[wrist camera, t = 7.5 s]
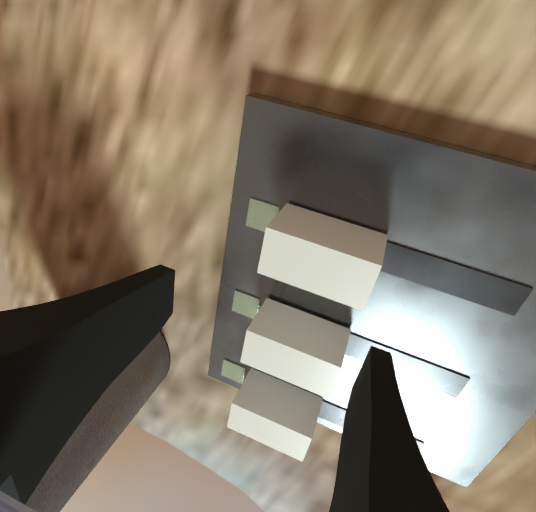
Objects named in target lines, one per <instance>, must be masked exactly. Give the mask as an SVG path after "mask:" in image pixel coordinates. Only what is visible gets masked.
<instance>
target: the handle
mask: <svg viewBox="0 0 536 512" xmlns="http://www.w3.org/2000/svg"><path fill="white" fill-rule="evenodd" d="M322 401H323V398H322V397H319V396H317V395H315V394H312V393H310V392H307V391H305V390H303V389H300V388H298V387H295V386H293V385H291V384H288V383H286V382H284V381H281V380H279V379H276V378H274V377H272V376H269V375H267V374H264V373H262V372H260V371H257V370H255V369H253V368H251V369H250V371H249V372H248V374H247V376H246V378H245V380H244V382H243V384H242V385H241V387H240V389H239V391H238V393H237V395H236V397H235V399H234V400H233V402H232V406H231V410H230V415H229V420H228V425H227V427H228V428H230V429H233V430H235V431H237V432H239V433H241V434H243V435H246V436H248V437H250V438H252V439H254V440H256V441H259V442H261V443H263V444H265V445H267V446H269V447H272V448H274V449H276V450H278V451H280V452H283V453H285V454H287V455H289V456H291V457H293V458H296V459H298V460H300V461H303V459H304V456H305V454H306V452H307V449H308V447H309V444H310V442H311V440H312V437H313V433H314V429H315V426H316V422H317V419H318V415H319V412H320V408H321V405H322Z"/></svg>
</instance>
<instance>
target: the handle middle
mask: <svg viewBox="0 0 536 512" xmlns="http://www.w3.org/2000/svg"><path fill="white" fill-rule="evenodd" d="M350 332H351V329H349V328H346V327H343V326H341V325H338V324H335V323H333V322H330V321H327V320H325V319H322V318H319V317H317V316H314V315H311V314H309V313H306V312H303V311H301V310H298V309H295V308H293V307H290V306H287V305H285V304H282V303H279V302H277V301H274V300H271V299H269V298H266V300H265V301H264V303H263V304H262V306H261V308H260V309H259V311H258V312H257V314H256V316H255V317H254V319H253V320H252V322H251V324H250V325H249V327H248V329H247V330H246V335H245V340H244V345H243V350H242V355H241V360H240V362H241V363H243V364H246V365H248V366H251V367H253V368H255V369H258V370H260V371H263V372H265V373H267V374H270V375H272V376H275V377H277V378H279V379H282V380H284V381H286V382H289V383H291V384H294V385H296V386H298V387H301V388H303V389H306V390H308V391H310V392H313V393H315V394H318V395H320V396H322V397H325V398H327V399H329V396H330V394H331V391H332V389H333V386H334V384H335V382H336V379H337V377H338V374H339V372H340V370H341V367H342V363H343V359H344V355H345V351H346V347H347V343H348V339H349V336H350Z"/></svg>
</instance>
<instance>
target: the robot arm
mask: <svg viewBox="0 0 536 512" xmlns="http://www.w3.org/2000/svg"><path fill="white" fill-rule="evenodd" d="M174 280H175V270H173V269H171V268H168V267H165V266H163V265H158V266H155V267H152V268H149V269H147V270H144V271H141V272H139V273H136V274H134V275H131V276H128V277H126V278H123V279H120V280H118V281H115V282H112V283H110V284H107V285H104V286H101V287H98V288H95V289H92V290H89V291H86V292H83V293H80V294H77V295H73V296H70V297H66V298H63V299H59V300H55V301H51V302H47V303H43V304H38V305H33V306H28V307H22V308H17V309H12V310H7V311H0V512H36V511H35V510H33V509H31V508H29V507H28V506H26V505H25V504H26V503H27V501H28V500H29V498H30V496H31V495H32V493H33V492H34V490H35V489H36V487H37V486H38V484H39V483H40V481H41V479H42V478H43V476H44V475H45V473H46V472H47V470H48V469H49V467H50V466H51V464H52V463H53V461H54V460H55V458H56V457H57V456H58V454H59V453H60V451H61V450H62V448H63V447H64V445H65V444H66V443H67V441H68V440H69V438H70V437H71V435H72V434H73V433H74V431H75V430H76V429H77V427H78V426H79V425H80V423H81V422H82V420H83V419H84V418H85V416H86V415H87V414H88V412H89V411H90V410H91V408H92V407H93V406H94V405H95V403H96V402H97V401H98V399H99V398H100V397H101V396H102V394H103V393H104V392H105V390H106V389H107V388H108V387H109V386H110V385H111V383H112V382H113V381H114V380H115V379H116V378H117V377H118V376H119V375H120V374H121V373H122V372H123V370H124V369H125V368H126V367H127V366H128V365H129V364H130V363H131V362H132V361H133V360H134V359H135V358H136V357H137V356H138V355H139V354H140V353H141V352H142V350H143V349H144V348H145V347H146V346H147V345H148V344H149V343H150V342H151V341H152V340H153V339H154V338H155V336H156V335H157V334H158V333H159V331H160V330H161V329H162V327H163V326H164V325H165V323H166V322H167V320H168V319H169V318H170V316H171V315H172V313H173V298H174ZM329 512H450V511H449V510H448V508H447V506H446V504H445V502H444V501H443V499H442V497H441V495H440V493H439V491H438V489H437V487H436V485H435V483H434V481H433V479H432V476H431V474H430V472H429V470H428V468H427V465H426V463H425V461H424V459H423V456H422V454H421V452H420V449H419V447H418V444H417V442H416V439H415V436H414V434H413V431H412V428H411V425H410V422H409V419H408V417H407V413H406V410H405V407H404V404H403V400H402V397H401V394H400V390H399V386H398V382H397V378H396V374H395V369H394V364H393V359H392V355H391V353H390V352H387V351H384V350H382V349H379V348H377V347H374V346H371V347H370V349H369V351H368V354H367V356H366V358H365V360H364V362H363V364H362V367H361V369H360V371H359V373H358V375H357V378H356V380H355V382H354V384H353V386H352V390H351V393H350V397H349V401H348V405H347V409H346V413H345V418H344V424H343V431H342V438H341V445H340V453H339V460H338V467H337V474H336V481H335V487H334V493H333V498H332V502H331V506H330V511H329Z"/></svg>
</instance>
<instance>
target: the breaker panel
mask: <svg viewBox="0 0 536 512" xmlns="http://www.w3.org/2000/svg"><path fill="white" fill-rule="evenodd" d="M287 203H289V204H292V205H295V206H298V207H301V208H304V209H307V210H311V211H314V212H317V213H320V214H323V215H326V216H330V217H333V218H336V219H339V220H342V221H345V222H348V223H352V224H355V225H358V226H361V227H364V228H367V229H371V230H374V231H377V232H380V233H383V234H386V235H388V238H387V243H386V248H385V254H384V259H383V264H382V268H381V270H380V273H379V275H378V277H377V280H376V282H375V285H374V287H373V289H372V292H371V294H370V297H369V299H368V302H367V304H366V306H365V309H364V311H361V310H358V309H356V308H353V307H350V306H347V305H345V304H342V303H339V302H336V301H334V300H331V299H328V298H325V297H323V296H320V295H317V294H314V293H312V292H309V291H306V290H303V289H300V288H298V287H295V286H292V285H289V284H287V283H284V282H281V281H278V280H276V279H273V278H270V277H267V276H265V275H262V274H259V273H257V270H258V265H259V260H260V255H261V250H262V245H263V240H264V235H265V230H266V227H267V225H268V224H269V223H270V222H271V221H272V220H273V219H274V217H275V216H276V215H277V214H278V213H279V212H280V211H281V209H282V208H283V207H284V206H285V205H286V204H287ZM266 298H269V299H271V300H274V301H277V302H279V303H282V304H285V305H287V306H290V307H293V308H295V309H298V310H301V311H303V312H306V313H309V314H311V315H314V316H317V317H319V318H322V319H325V320H327V321H330V322H333V323H335V324H338V325H341V326H343V327H346V328H349V329H351V332H350V336H349V339H348V343H347V347H346V351H345V355H344V359H343V363H342V367H341V370H340V372H339V374H338V377H337V379H336V382H335V384H334V386H333V389H332V391H331V394H330V396H329V399H327V398H325V397H322V396H320V395H318V394H315V393H313V392H310V391H308V390H306V389H303V388H301V387H298V386H296V385H294V384H291V383H289V382H286V381H284V380H282V379H279V378H277V377H275V376H272V375H270V374H267V373H265V372H263V371H260V370H258V369H255V368H253V367H251V366H248V365H246V364H243V363H241V362H240V360H241V355H242V350H243V345H244V340H245V335H246V330H247V329H248V327H249V325H250V324H251V322H252V320H253V319H254V317H255V316H256V314H257V312H258V311H259V309H260V308H261V306H262V304H263V303H264V301H265V300H266ZM371 346H374V347H377V348H379V349H382V350H384V351H387V352H390V353H391V355H392V359H393V364H394V369H395V374H396V378H397V382H398V386H399V390H400V394H401V397H402V400H403V404H404V407H405V410H406V413H407V417H408V419H409V422H410V425H411V428H412V431H413V434H414V436H415V439H416V442H417V444H418V447H419V449H420V452H421V454H422V456H423V459H424V461H425V463H426V465H427V468H428V470H429V471H430V472H432V473H435V474H437V475H439V476H442V477H444V478H446V479H449V480H451V481H453V482H455V483H458V484H460V485H462V486H465V487H467V486H468V485H469V484H470V483H471V482H472V481H473V480H474V478H475V477H476V476H477V475H478V474H479V473H480V472H481V471H482V470H483V469H484V467H485V466H486V465H487V464H488V463H489V462H490V461H491V460H492V459H493V458H494V456H495V455H496V454H497V453H498V452H499V451H500V450H501V449H502V448H503V447H504V445H505V444H506V443H507V442H508V441H509V440H510V439H511V438H512V437H513V436H514V434H515V433H516V432H517V431H518V430H519V429H520V428H521V427H522V426H523V425H524V423H525V422H526V421H527V420H528V419H529V418H530V417H531V416H532V415H533V414H534V412H535V411H536V166H533V165H529V164H525V163H521V162H518V161H514V160H510V159H506V158H502V157H498V156H494V155H491V154H487V153H483V152H479V151H475V150H471V149H468V148H464V147H460V146H456V145H452V144H448V143H444V142H441V141H437V140H433V139H429V138H425V137H421V136H417V135H414V134H410V133H406V132H402V131H398V130H394V129H390V128H387V127H383V126H379V125H375V124H371V123H367V122H363V121H360V120H356V119H352V118H348V117H344V116H340V115H336V114H333V113H329V112H325V111H321V110H317V109H313V108H310V107H306V106H302V105H298V104H294V103H290V102H286V101H283V100H279V99H275V98H271V97H267V96H263V95H259V94H256V93H254V94H250V95H246V102H245V109H244V116H243V123H242V131H241V138H240V145H239V152H238V160H237V167H236V174H235V182H234V189H233V196H232V203H231V211H230V218H229V225H228V233H227V240H226V247H225V254H224V262H223V269H222V276H221V284H220V291H219V298H218V305H217V313H216V320H215V327H214V334H213V342H212V349H211V356H210V364H209V371H208V375H209V376H211V377H214V378H216V379H218V380H220V381H223V382H225V383H227V384H230V385H232V386H234V387H237V388H239V389H240V387H241V385H242V384H243V382H244V380H245V378H246V376H247V374H248V372H249V371H250V369H251V368H253V369H255V370H257V371H260V372H262V373H264V374H267V375H269V376H272V377H274V378H276V379H279V380H281V381H284V382H286V383H288V384H291V385H293V386H295V387H298V388H300V389H303V390H305V391H307V392H310V393H312V394H315V395H317V396H319V397H322V398H323V401H322V405H321V408H320V412H319V415H318V419H317V423H320V424H322V425H324V426H326V427H329V428H331V429H333V430H336V431H338V432H340V433H342V431H343V424H344V418H345V413H346V409H347V405H348V401H349V397H350V393H351V390H352V386H353V384H354V382H355V380H356V378H357V375H358V373H359V371H360V369H361V367H362V364H363V362H364V360H365V358H366V356H367V354H368V351H369V349H370V347H371Z"/></svg>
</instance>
